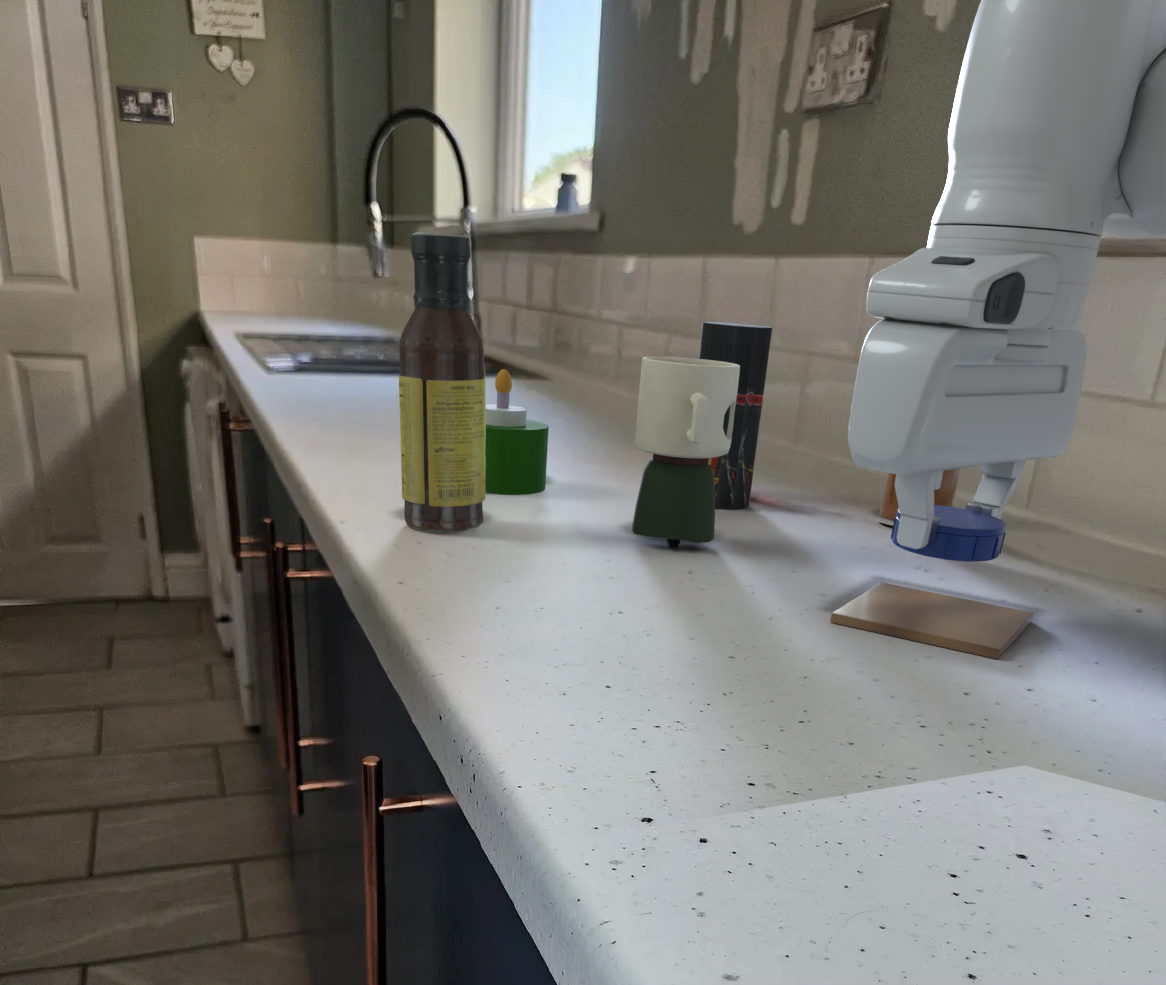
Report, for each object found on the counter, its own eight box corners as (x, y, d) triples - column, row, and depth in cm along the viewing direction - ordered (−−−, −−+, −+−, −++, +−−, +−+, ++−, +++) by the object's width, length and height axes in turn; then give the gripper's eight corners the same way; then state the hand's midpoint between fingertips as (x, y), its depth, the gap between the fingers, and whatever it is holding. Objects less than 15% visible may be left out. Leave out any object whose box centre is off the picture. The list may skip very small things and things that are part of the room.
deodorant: (761, 508, 98) (785, 328, 92) (702, 509, 96) (723, 325, 90) (729, 495, 103) (750, 323, 97) (672, 495, 101) (690, 320, 95)
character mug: (733, 561, 79) (758, 371, 74) (636, 557, 78) (654, 364, 73) (702, 528, 89) (722, 357, 83) (616, 523, 88) (630, 351, 82)
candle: (553, 496, 97) (560, 376, 93) (460, 493, 95) (463, 371, 91) (535, 478, 104) (541, 366, 100) (448, 475, 102) (450, 362, 98)
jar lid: (881, 531, 69) (887, 500, 69) (980, 539, 69) (988, 509, 69) (904, 556, 64) (911, 524, 63) (1013, 565, 64) (1021, 533, 63)
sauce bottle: (497, 524, 85) (507, 239, 76) (462, 539, 79) (469, 234, 71) (422, 513, 87) (424, 233, 78) (384, 527, 81) (381, 228, 73)
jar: (960, 529, 96) (987, 403, 91) (925, 536, 92) (952, 404, 88) (900, 516, 100) (924, 393, 95) (864, 522, 96) (887, 395, 91)
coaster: (1031, 621, 70) (1034, 612, 70) (997, 659, 62) (999, 649, 62) (879, 590, 74) (881, 581, 74) (829, 622, 67) (831, 612, 66)
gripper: (1033, 294, 69) (983, 514, 75) (850, 277, 56) (807, 545, 62) (1133, 302, 65) (1072, 533, 71) (962, 285, 52) (904, 571, 58)
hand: (947, 539), depth 66 cm, fingers closed on jar lid, 6 cm apart
